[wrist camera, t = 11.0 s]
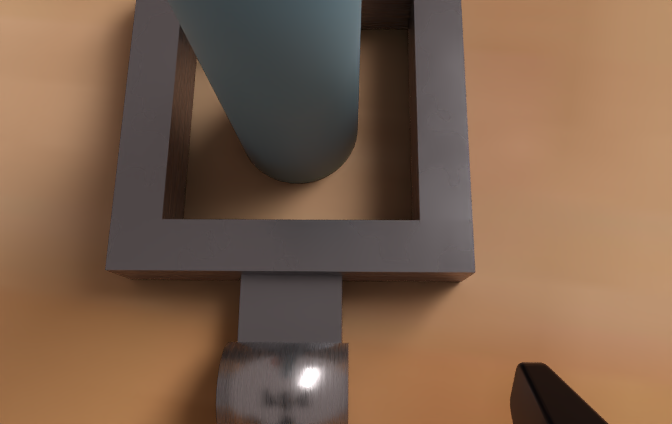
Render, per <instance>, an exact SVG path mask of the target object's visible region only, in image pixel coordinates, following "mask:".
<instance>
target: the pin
mask: <svg viewBox="0 0 672 424" xmlns="http://www.w3.org/2000/svg"><path fill="white" fill-rule="evenodd" d="M168 2H169V4H170V6H171V8H172V10H173V12H174V14H175V16H176V18H177V20H178V22H179V24H180V26H181V27H182V29H183V31H184V33H185V35H186V37H187V39H188V41H189V43H190V45H191V47H192V49H193V51H194V53H195V55H196V57H197V58H198V60H199V62H200V64H201V66H202V68H203V70H204V72H205V74H206V76H207V78H208V80H209V82H210V84H211V86H212V88H213V89H214V91H215V93H216V95H217V97H218V99H219V101H220V103H221V105H222V107H223V109H224V111H225V113H226V115H227V117H228V119H229V120H230V122H231V124H232V126H233V128H234V130H235V132H236V134H237V136H238V138H239V140H240V142H241V144H242V146H243V148H244V150H245V151H246V153H247V155H248V157H249V158H250V160H251V161H252V163H253V164H254V165H255V166H256V167H257V168H258V169H259V170H260V171H262V172H263V173H265V174H266V175H268V176H269V177H272V178H274V179H276V180H279V181H283V182H288V183H308V182H313V181H316V180H319V179H322V178H324V177H326V176H328V175H330V174H331V173H333V172H334V171H336V170H337V169H338V168H339V167H341V166H342V164H343V163H344V162H345V161H346V160H347V158H348V157H349V155H350V154H351V152H352V150H353V148H354V145H355V142H356V138H357V132H358V102H359V68H360V34H361V0H168Z"/></svg>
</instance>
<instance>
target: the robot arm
mask: <svg viewBox="0 0 672 424" xmlns="http://www.w3.org/2000/svg"><path fill="white" fill-rule="evenodd" d="M510 409H511V415H512V420H513V424H608V423H607V422H606V421H605V420H604V419H603V418H602V417H601V416H600V415H599V414H598V413H597V412H596V411H595V410H593V409H592V408H591V407H590V406H589V405H588V404H587V403H586V402H585V401H584V400H583V399H582V398H581V397H580V396H579V395H578V394H577V393H576V392H575V391H574V390H572V389H571V388H570V387H569V386H568V385H567V384H566V383H565V382H564V381H563V380H562V379H561V378H560V377H559V376H558V375H557V374H556V373H555V372H554V371H553V370H552V369H550V368H549V367H548V366H547V365H546V364H544V363H529V362H522V363H520V364H518V366H517V368H516V372H515V377H514V382H513V387H512V392H511V397H510Z"/></svg>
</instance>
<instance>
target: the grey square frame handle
mask: <svg viewBox="0 0 672 424" xmlns="http://www.w3.org/2000/svg"><path fill="white" fill-rule="evenodd" d="M361 29H408V67H409V108H410V149H411V190H412V220H244V219H183V216H184V204H185V192H186V179H187V167H188V155H189V143H190V130H191V118H192V106H193V94H194V81H195V69H196V55H195V53H194V51H193V49H192V47H191V45H190V43H189V41H188V39H187V37H186V35H185V33H184V31H183V29H182V27H181V26H180V24H179V22H178V20H177V18H176V16H175V14H174V12H173V10H172V8H171V6H170V4H169V2H168V0H136V7H135V16H134V24H133V33H132V42H131V50H130V59H129V68H128V76H127V85H126V94H125V102H124V111H123V120H122V128H121V137H120V146H119V154H118V163H117V172H116V181H115V189H114V198H113V207H112V215H111V224H110V233H109V241H108V250H107V259H106V267H105V270H107V271H110V272H112V273H115V274H118V275H121V276H124V277H127V278H130V279H161V280H241V287H240V306H239V325H238V342H228V343H227V344H226V346H225V348H224V351H223V354H222V357H221V362H220V367H219V373H218V381H217V392H216V419H217V424H348V343H342V284H343V281H438V282H462V281H463V280H465V279H466V278H468V277H469V276H471V275H472V274H474V273H475V259H474V240H473V221H472V201H471V182H470V163H469V144H468V125H467V106H466V87H465V68H464V48H463V29H462V10H461V0H361Z"/></svg>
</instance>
